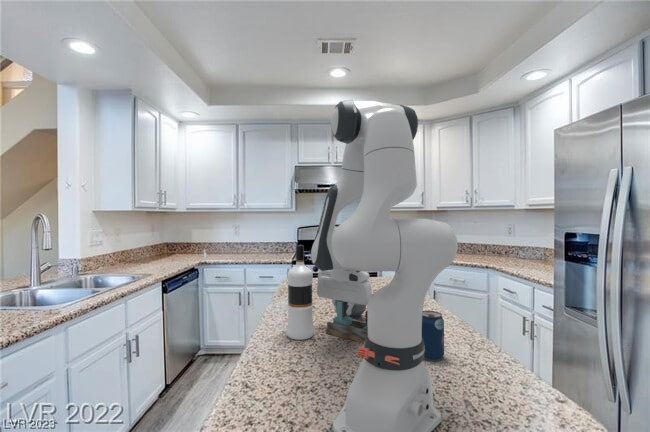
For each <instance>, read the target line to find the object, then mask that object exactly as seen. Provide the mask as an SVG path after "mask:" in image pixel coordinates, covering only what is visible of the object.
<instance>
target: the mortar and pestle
mask: <svg viewBox="0 0 650 432" xmlns="http://www.w3.org/2000/svg"><path fill="white" fill-rule="evenodd" d="M366 309H367V305H361V304H356V303H354V306H353V308H352V309H351V315H348V317H351V318H352V319H355V320H359V321H362V315H363V314H365V312H366Z"/></svg>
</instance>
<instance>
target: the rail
mask: <svg viewBox="0 0 650 432" xmlns="http://www.w3.org/2000/svg"><path fill="white" fill-rule="evenodd" d="M364 316H365V320H364V321H362V320H360V321H359V320H355V319H352V324H350V325H349V326H346V325H342V324H337V323H333V321H328V322H326V329H325V334H327V335H329V336H330V335H331V336H333V337H338V338H343V339H346V340H350V341H353V340H354V341H355V342H357V341H358V342H357V343H361V344H364V342H365V339H366V335H367V333H368V315H367V310H365V311H364Z"/></svg>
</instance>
